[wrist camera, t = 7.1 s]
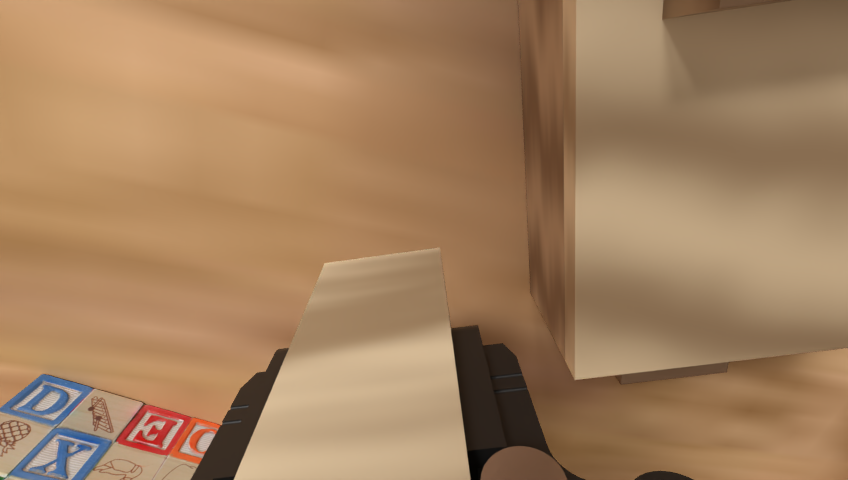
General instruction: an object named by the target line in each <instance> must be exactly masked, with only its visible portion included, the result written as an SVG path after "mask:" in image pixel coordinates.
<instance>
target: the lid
mask: <svg viewBox="0 0 848 480" xmlns="http://www.w3.org/2000/svg"><path fill="white" fill-rule="evenodd" d="M563 117H564V266H565V362H566V364H567V366H568V368H569V370H570V372H571V374H572V376H573V378H574V380H579V379H587V378H596V377H604V376H613V375H621V374H630V373H638V372H647V371H655V370H664V369H672V368H681V367H690V366H698V365H707V364H715V363H724V362H732V361H741V360H749V359H758V358H766V357H775V356H783V355H792V354H800V353H809V352H817V351H826V350H834V349H843V348H848V0H563Z"/></svg>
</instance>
